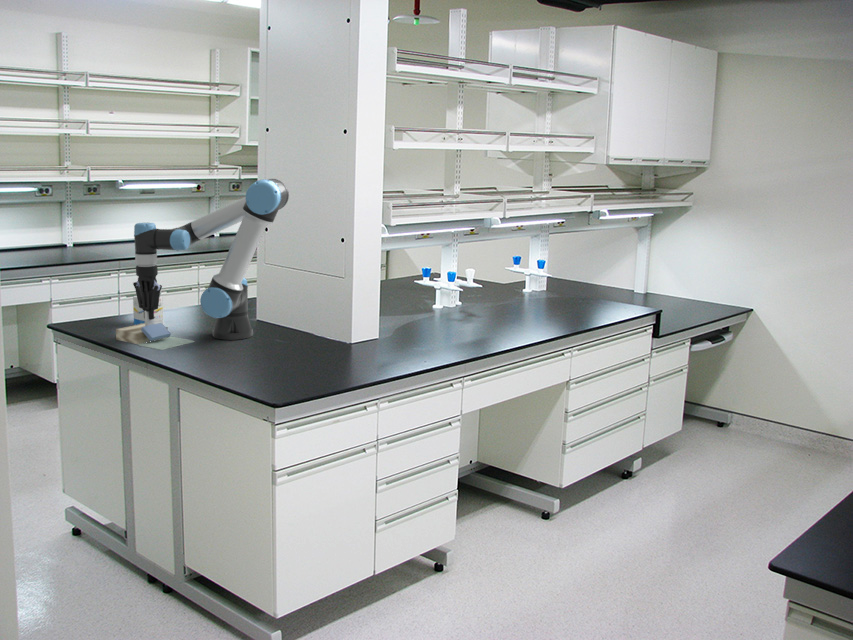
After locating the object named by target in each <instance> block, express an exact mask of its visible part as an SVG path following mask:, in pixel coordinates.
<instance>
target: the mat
mask: <svg viewBox="0 0 853 640" xmlns="http://www.w3.org/2000/svg"><path fill="white" fill-rule="evenodd" d="M191 343H195V340H191V339H186V338H181V337H177V336H170V337H168V338H163V339H159V340H155V341H151V342H147V343H142V344H137V346H139V347H143V346H144V348H149V349H153V350H158V351H165V350H168V349H172V348H176V347H180V346H184V345H187V344H191Z"/></svg>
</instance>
